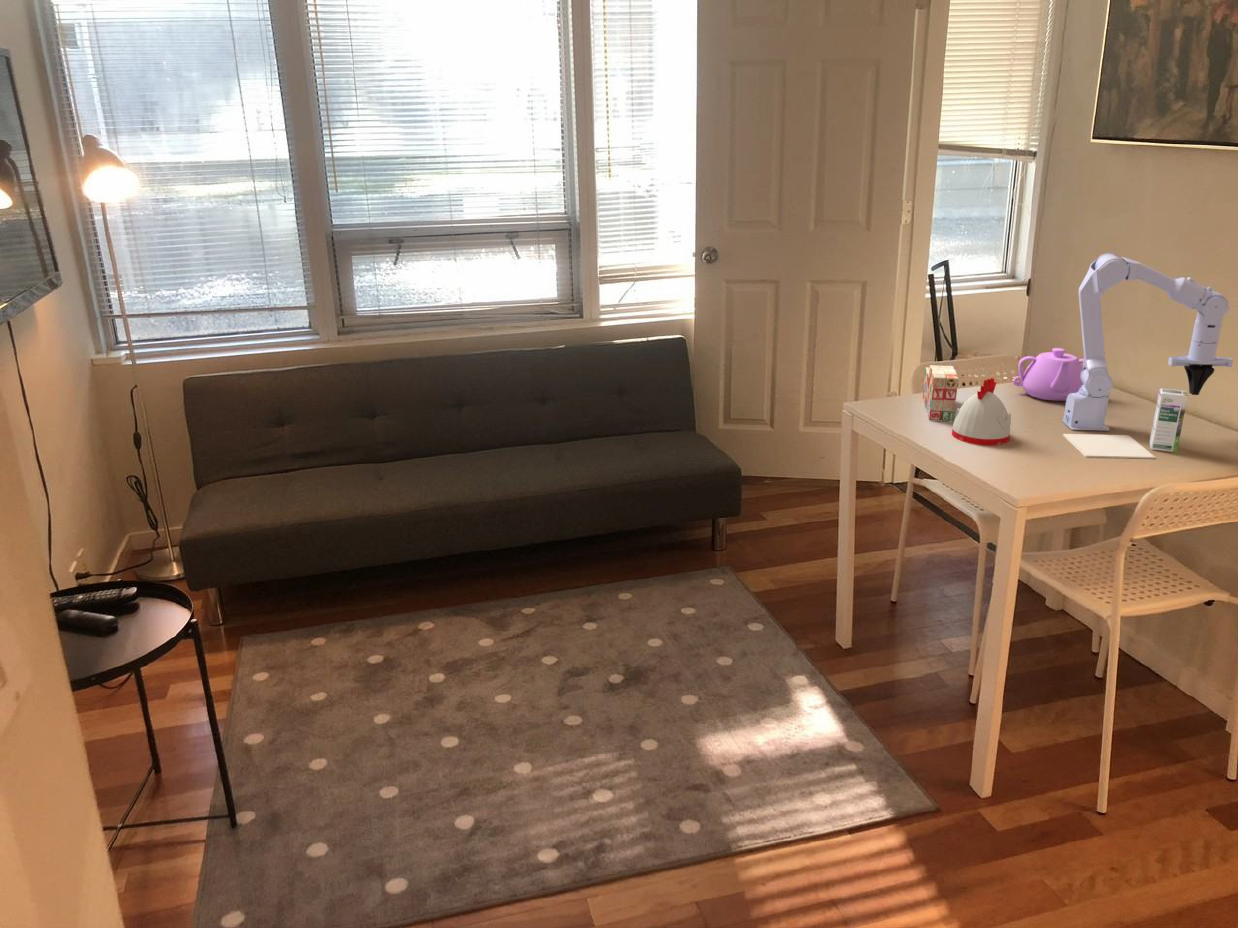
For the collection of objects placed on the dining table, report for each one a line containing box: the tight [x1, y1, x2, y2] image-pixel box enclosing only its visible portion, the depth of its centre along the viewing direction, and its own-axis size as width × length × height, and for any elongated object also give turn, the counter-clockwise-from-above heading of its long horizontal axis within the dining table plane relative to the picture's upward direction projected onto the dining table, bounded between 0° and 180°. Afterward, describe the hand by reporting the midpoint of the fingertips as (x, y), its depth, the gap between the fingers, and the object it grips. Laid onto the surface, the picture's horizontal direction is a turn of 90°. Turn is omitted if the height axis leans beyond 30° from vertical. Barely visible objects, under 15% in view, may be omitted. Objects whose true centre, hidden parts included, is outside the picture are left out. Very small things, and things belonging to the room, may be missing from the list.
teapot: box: [1012, 347, 1084, 402], centre depth 276 cm, size 22×22×14 cm
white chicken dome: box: [951, 377, 1012, 446], centre depth 245 cm, size 14×14×15 cm
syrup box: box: [1148, 387, 1189, 453], centre depth 236 cm, size 6×6×14 cm
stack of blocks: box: [922, 364, 960, 422], centre depth 267 cm, size 21×6×12 cm, turn 169°
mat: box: [1062, 433, 1156, 460], centre depth 240 cm, size 16×16×1 cm
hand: (1193, 393), depth 245 cm, fingers closed
